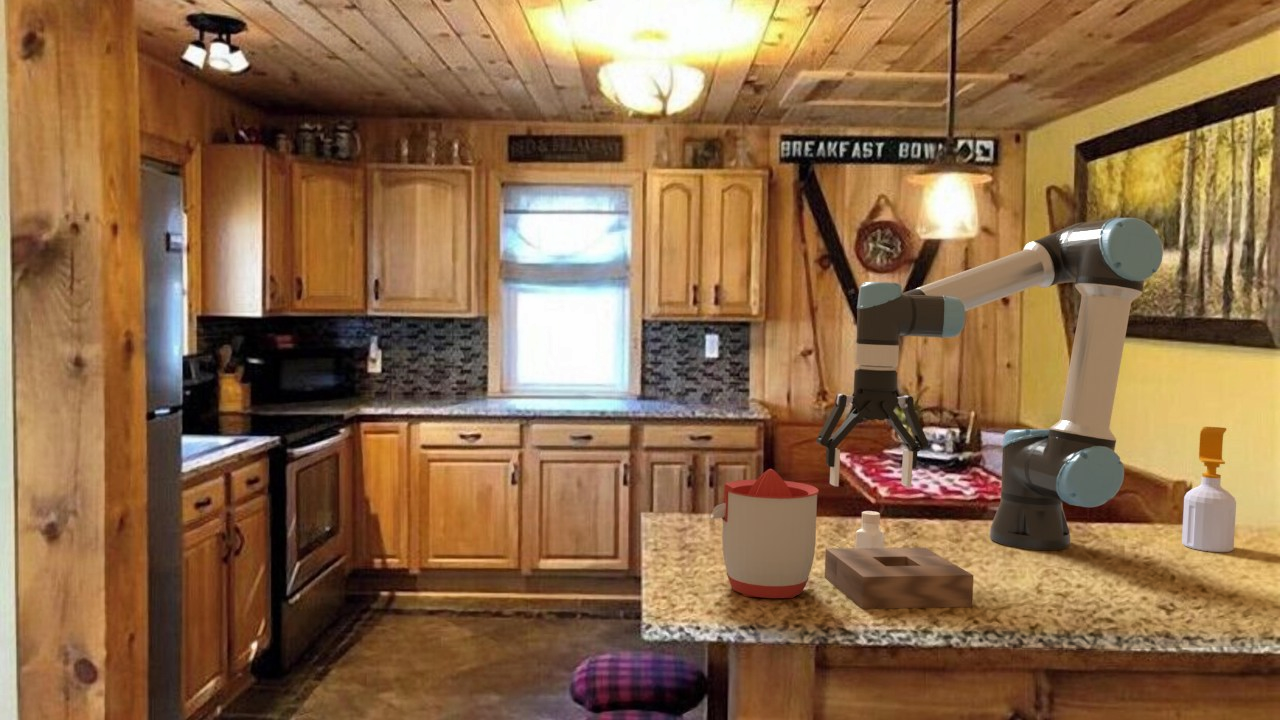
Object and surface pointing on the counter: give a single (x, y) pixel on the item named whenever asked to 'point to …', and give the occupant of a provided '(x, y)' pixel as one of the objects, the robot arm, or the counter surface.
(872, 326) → the robot arm
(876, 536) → the pepper shaker
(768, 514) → the citrus juicer
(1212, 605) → the counter surface
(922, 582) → the socket block
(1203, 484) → the soap bottle
